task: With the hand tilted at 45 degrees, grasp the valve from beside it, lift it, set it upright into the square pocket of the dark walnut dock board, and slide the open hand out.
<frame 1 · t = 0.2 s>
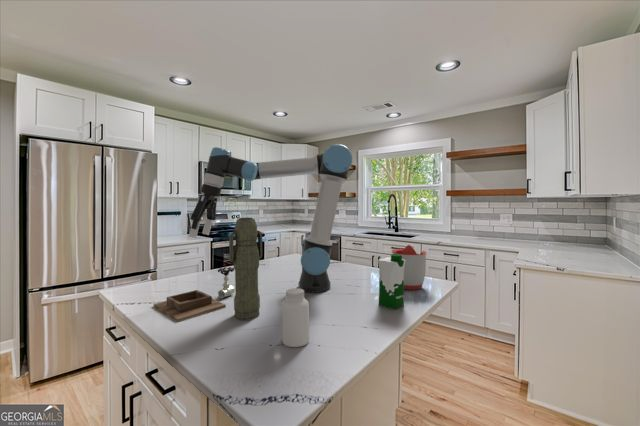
hand: (199, 235, 120), 27 cm above the counter, tool tilted 15°, fingers open, 13 cm apart
valve: (226, 297, 125), on the counter
dock board: (189, 306, 113), on the counter
milk carton: (391, 305, 115), on the counter
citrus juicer: (409, 286, 139), on the counter
thermos: (247, 315, 105), on the counter
pill bottle: (295, 342, 86), on the counter
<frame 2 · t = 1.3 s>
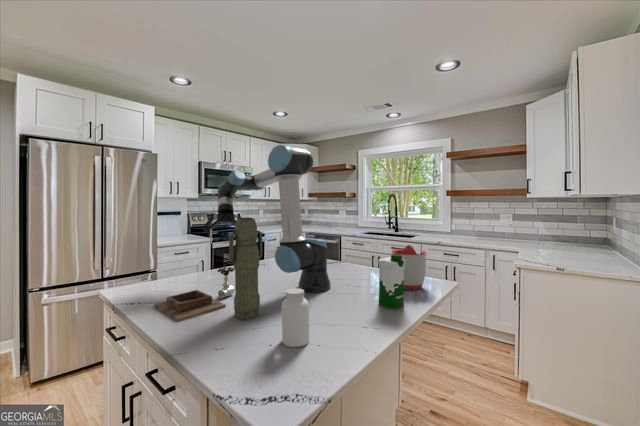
hand: (226, 241, 136), 22 cm above the counter, tool tilted 45°, fingers open, 13 cm apart
nothing on the counter moved.
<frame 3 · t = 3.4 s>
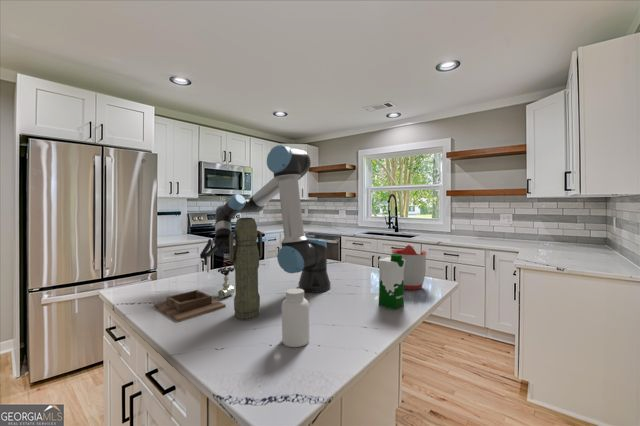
hand: (224, 269, 130), 10 cm above the counter, tool tilted 45°, fingers open, 13 cm apart
nothing on the counter moved.
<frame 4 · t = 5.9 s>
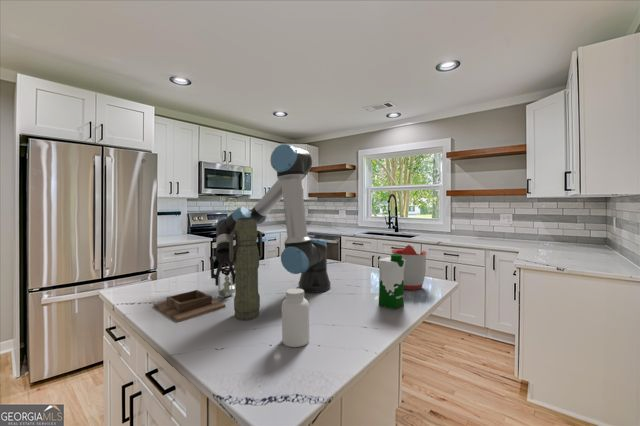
hand: (225, 291, 121), 3 cm above the counter, tool tilted 45°, fingers closed on valve, 4 cm apart
valve: (227, 296, 125), on the counter, touching gripper
everything else where it was.
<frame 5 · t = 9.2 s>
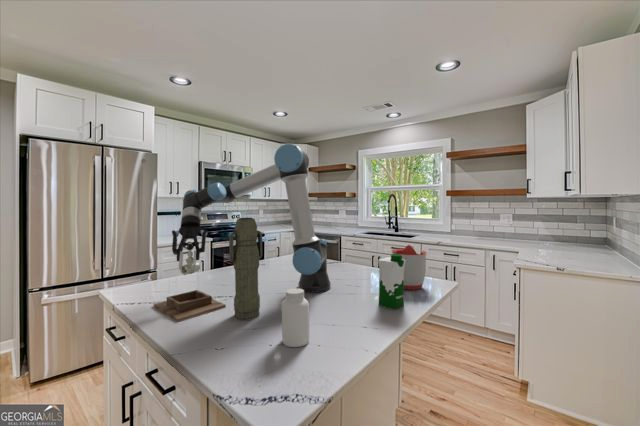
hand: (187, 267, 109), 16 cm above the counter, tool tilted 45°, fingers closed on valve, 4 cm apart
valve: (190, 274, 113), point 13 cm above the counter, touching gripper
everything else where it was.
when the fingers open (5 cm above the counter, at t = 12.2 s): valve stays where it is, resting on dock board.
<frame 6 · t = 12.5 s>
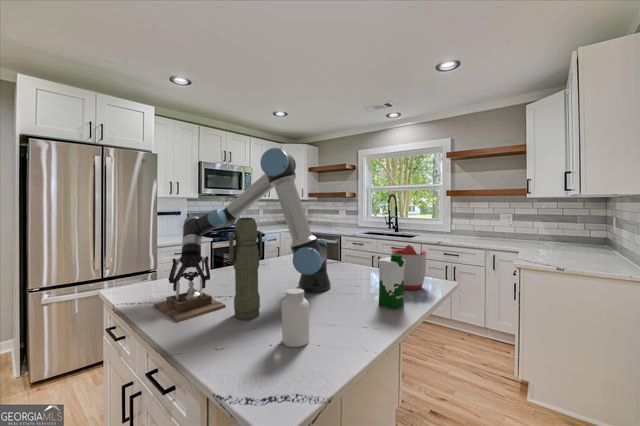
hand: (189, 296, 110), 5 cm above the counter, tool tilted 45°, fingers open, 7 cm apart
valve: (191, 304, 113), point 1 cm above the counter, touching dock board
everything else where it was.
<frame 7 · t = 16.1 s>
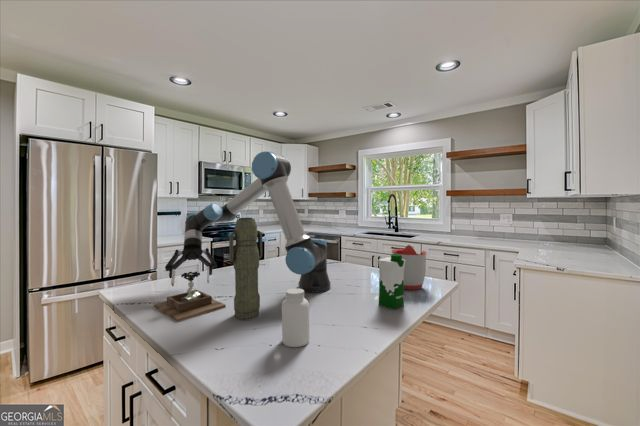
hand: (190, 282, 121), 7 cm above the counter, tool tilted 45°, fingers open, 13 cm apart
nothing on the counter moved.
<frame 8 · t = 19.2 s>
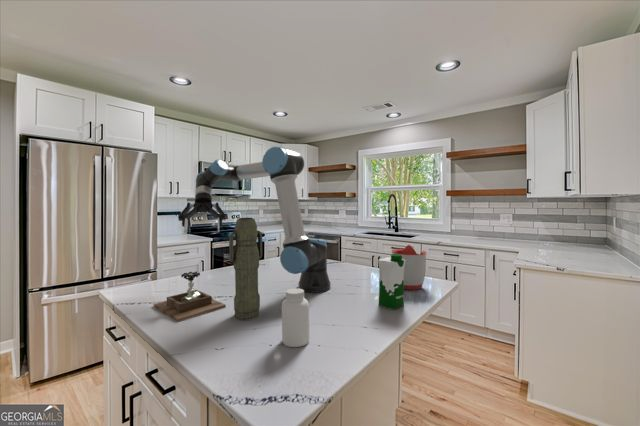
hand: (202, 231, 129), 28 cm above the counter, tool tilted 45°, fingers open, 13 cm apart
nothing on the counter moved.
at the end: valve 0.8 cm off-centre on the dock board, point 0.8 cm above the dock board's base; valve tilted 0°; the gripper is holding nothing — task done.
